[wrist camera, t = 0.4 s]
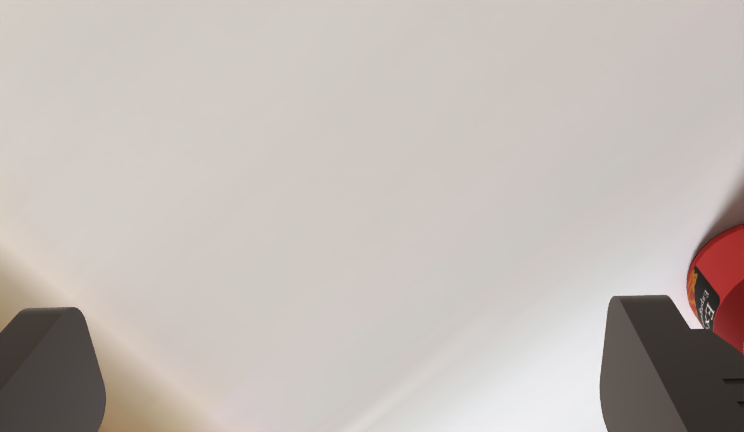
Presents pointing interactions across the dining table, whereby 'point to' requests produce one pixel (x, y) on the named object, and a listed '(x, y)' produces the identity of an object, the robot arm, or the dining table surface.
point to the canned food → (720, 286)
